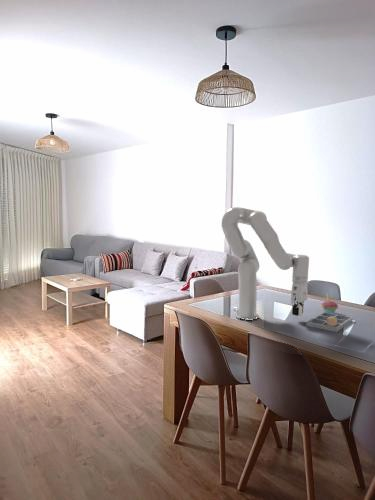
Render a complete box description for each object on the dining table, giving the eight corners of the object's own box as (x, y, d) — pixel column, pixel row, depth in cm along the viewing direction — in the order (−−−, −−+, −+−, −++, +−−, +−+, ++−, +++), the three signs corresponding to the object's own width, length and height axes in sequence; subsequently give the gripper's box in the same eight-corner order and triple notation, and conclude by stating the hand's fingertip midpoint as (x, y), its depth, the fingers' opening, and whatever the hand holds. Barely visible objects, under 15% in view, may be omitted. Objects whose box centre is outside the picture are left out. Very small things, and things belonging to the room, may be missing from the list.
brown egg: (325, 328, 178) (325, 316, 177) (328, 326, 181) (329, 314, 180) (334, 330, 175) (335, 318, 174) (337, 328, 178) (338, 316, 177)
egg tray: (306, 326, 182) (306, 321, 182) (323, 316, 198) (323, 311, 198) (336, 333, 172) (336, 327, 172) (352, 321, 189) (352, 317, 188)
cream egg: (291, 314, 189) (292, 303, 188) (295, 312, 192) (296, 302, 191) (299, 316, 186) (300, 305, 185) (303, 314, 189) (304, 303, 188)
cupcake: (327, 316, 198) (328, 294, 197) (318, 312, 206) (318, 291, 205) (341, 315, 200) (342, 293, 199) (331, 311, 209) (331, 290, 207)
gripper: (299, 282, 178) (297, 319, 180) (313, 278, 190) (311, 312, 192) (285, 280, 183) (283, 315, 185) (300, 275, 195) (297, 309, 197)
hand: (297, 313), depth 189 cm, fingers closed on cream egg, 4 cm apart
